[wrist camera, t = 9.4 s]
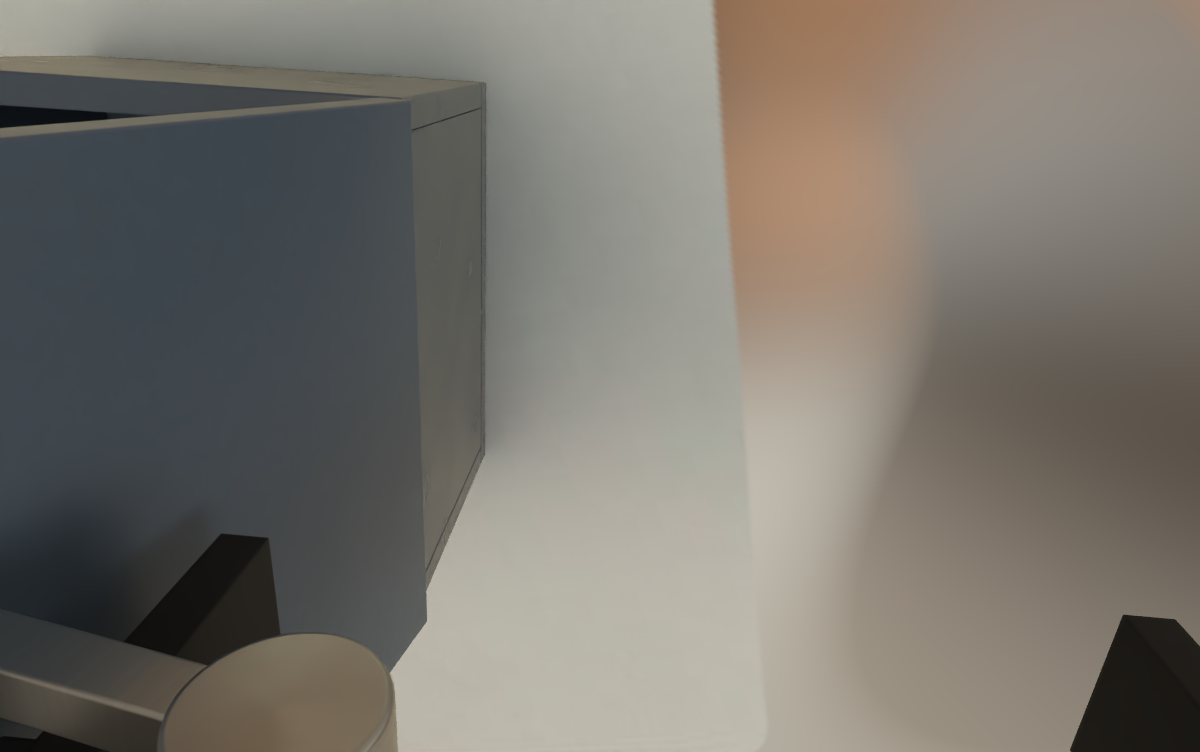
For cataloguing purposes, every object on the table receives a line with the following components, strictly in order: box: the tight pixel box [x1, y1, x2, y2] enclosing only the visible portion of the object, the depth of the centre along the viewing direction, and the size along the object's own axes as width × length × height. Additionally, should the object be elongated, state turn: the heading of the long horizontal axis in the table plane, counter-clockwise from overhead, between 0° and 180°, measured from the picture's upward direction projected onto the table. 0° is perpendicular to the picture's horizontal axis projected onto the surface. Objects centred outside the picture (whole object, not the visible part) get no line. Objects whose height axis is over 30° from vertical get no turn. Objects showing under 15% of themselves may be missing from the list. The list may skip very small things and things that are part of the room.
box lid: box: [0, 98, 427, 752], centre depth 13 cm, size 15×15×7 cm
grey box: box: [0, 56, 486, 590], centre depth 26 cm, size 14×15×10 cm
